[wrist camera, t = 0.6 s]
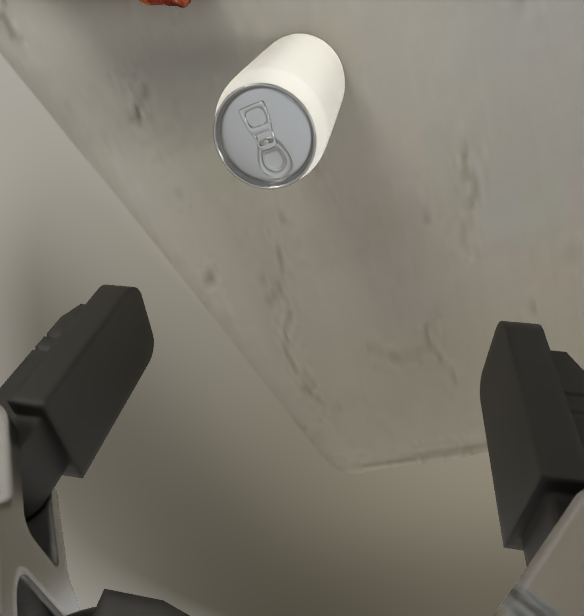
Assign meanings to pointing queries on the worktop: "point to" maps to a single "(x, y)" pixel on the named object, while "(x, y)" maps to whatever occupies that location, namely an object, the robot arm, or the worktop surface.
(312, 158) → the can
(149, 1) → the croissant
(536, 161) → the worktop surface
